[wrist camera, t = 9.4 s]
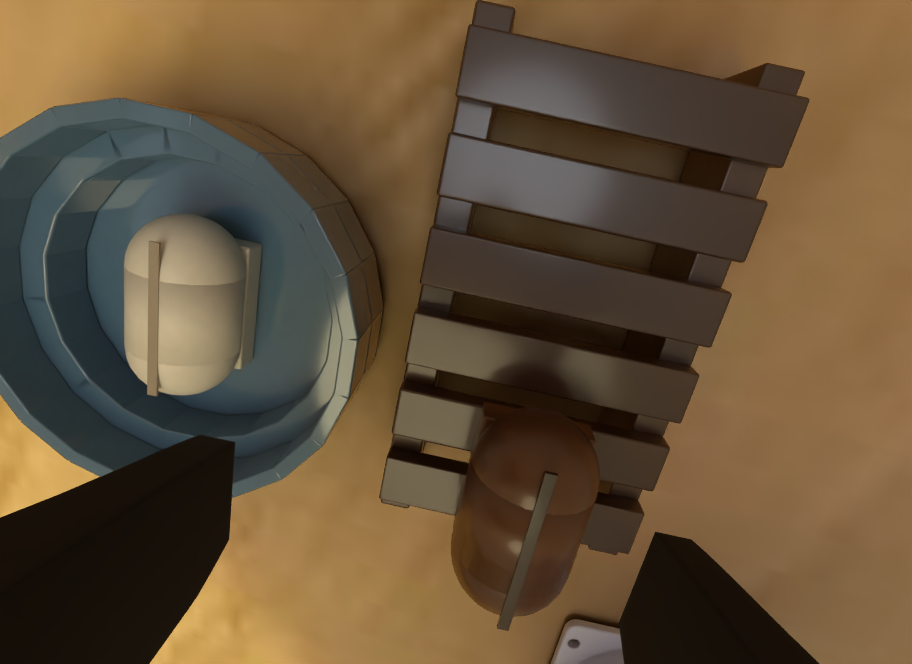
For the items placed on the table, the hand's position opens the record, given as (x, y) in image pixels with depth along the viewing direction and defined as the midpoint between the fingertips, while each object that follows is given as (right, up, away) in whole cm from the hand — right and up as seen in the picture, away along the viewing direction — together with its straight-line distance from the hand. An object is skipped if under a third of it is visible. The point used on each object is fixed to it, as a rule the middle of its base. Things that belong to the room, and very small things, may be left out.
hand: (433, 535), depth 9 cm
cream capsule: (-8, +5, +9) cm, 13 cm away
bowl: (-8, +5, +10) cm, 14 cm away
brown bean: (+2, -1, +7) cm, 7 cm away
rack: (+4, +5, +9) cm, 11 cm away
